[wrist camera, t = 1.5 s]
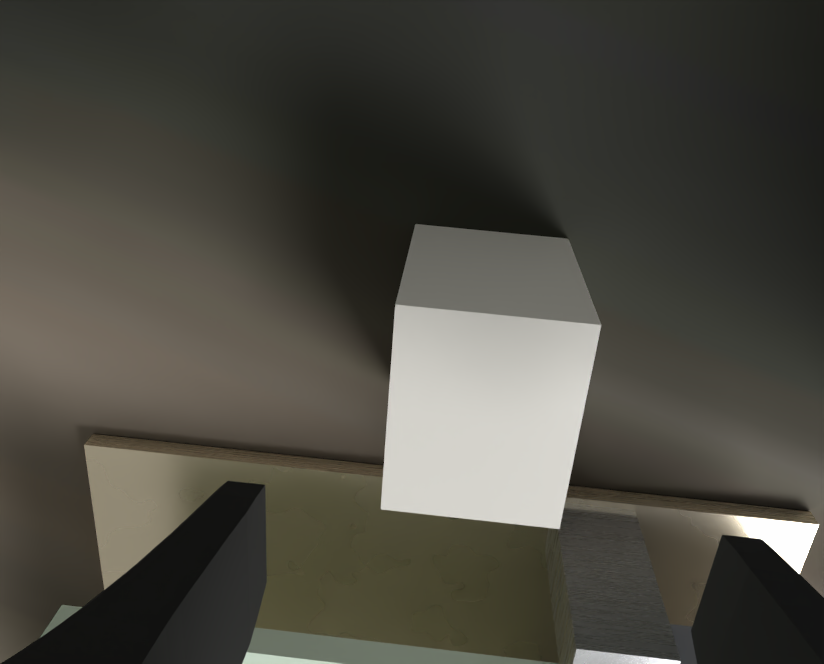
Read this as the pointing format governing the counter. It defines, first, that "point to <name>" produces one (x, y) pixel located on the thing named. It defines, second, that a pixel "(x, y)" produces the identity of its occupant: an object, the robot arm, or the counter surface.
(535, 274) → the white rectangular block
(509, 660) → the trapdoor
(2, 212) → the counter surface
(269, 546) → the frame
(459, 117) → the counter surface
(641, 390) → the counter surface
